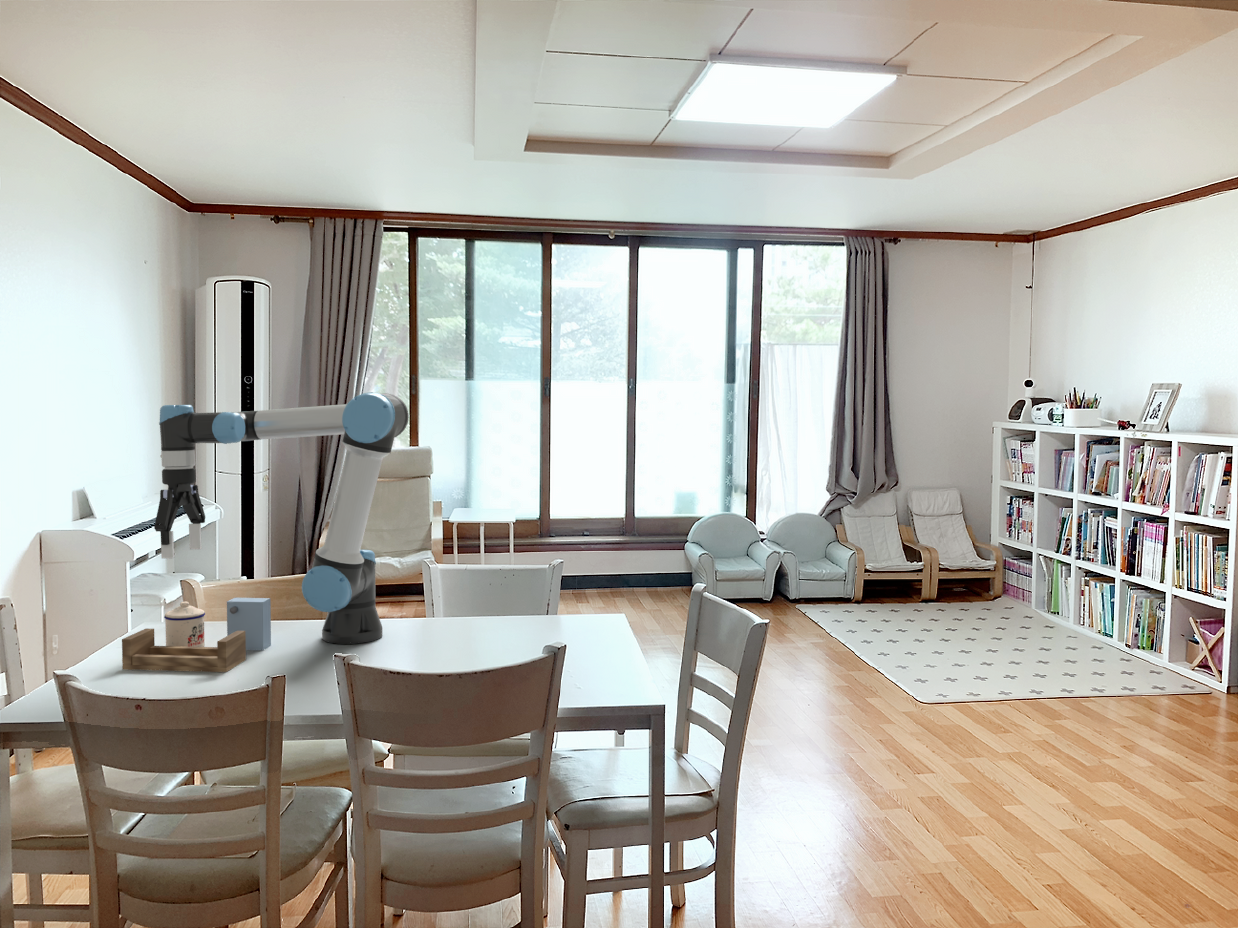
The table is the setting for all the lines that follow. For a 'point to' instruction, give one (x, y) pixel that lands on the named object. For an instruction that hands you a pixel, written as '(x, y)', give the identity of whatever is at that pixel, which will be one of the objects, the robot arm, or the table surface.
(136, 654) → the track
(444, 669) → the table surface
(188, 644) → the teacup with lid
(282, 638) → the table surface
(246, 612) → the blue box with knob
